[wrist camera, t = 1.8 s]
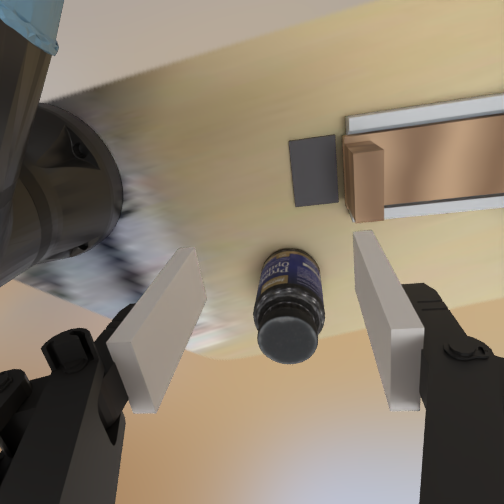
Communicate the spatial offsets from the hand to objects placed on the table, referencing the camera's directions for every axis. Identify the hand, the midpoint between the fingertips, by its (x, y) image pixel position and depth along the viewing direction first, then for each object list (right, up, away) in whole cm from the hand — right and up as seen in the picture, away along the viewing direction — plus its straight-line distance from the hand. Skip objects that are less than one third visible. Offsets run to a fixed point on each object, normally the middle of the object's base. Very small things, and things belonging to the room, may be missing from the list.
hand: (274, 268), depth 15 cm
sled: (+18, +9, +13) cm, 24 cm away
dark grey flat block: (+5, +8, +17) cm, 19 cm away
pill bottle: (+3, -2, +22) cm, 22 cm away
